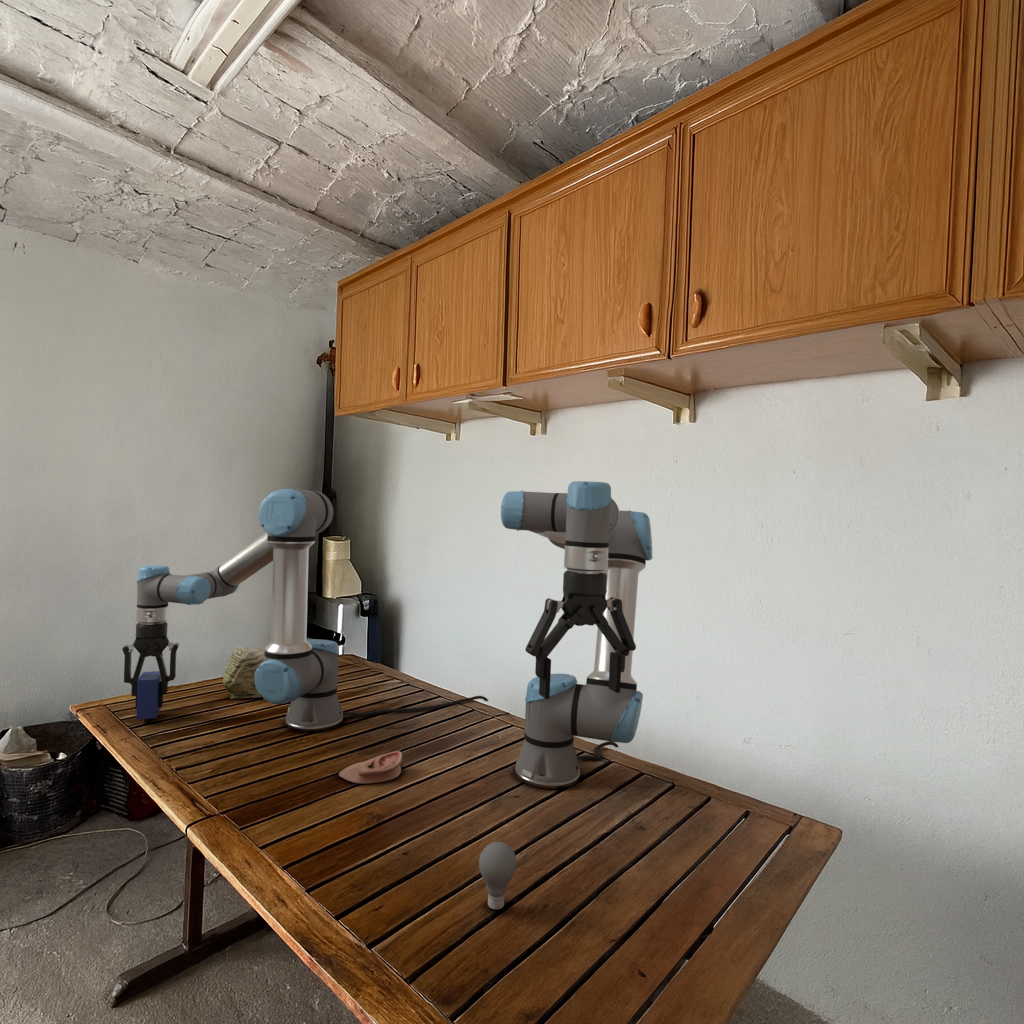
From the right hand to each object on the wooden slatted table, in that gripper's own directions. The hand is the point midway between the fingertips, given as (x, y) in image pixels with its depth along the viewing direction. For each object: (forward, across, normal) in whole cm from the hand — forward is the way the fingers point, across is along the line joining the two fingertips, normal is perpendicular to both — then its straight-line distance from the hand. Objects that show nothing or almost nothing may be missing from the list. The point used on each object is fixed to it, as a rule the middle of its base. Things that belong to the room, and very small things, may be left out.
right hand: (579, 693), depth 110 cm
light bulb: (+31, -16, -5) cm, 36 cm away
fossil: (+31, -53, +115) cm, 131 cm away
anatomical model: (+31, -27, +49) cm, 64 cm away
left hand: (+28, -79, +100) cm, 130 cm away
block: (+30, -79, +99) cm, 131 cm away
